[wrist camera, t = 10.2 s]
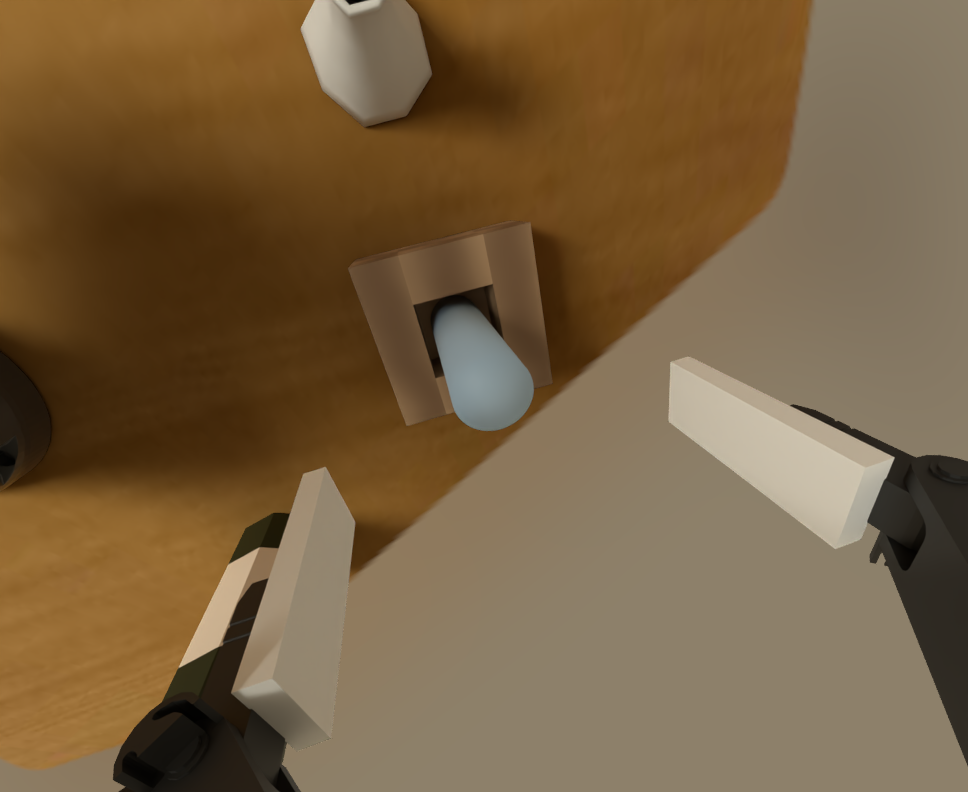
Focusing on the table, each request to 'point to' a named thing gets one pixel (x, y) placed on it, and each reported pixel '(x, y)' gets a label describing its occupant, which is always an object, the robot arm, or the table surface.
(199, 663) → the wine bottle
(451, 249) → the bore block
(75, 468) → the table surface
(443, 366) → the dowel
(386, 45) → the flask
